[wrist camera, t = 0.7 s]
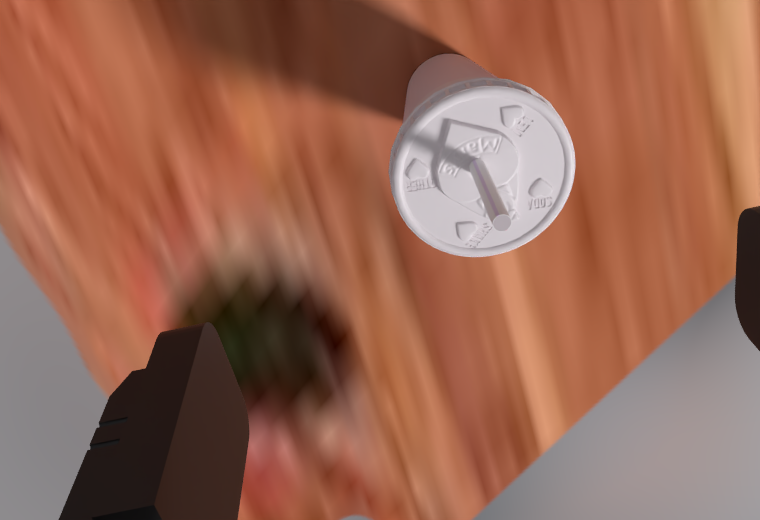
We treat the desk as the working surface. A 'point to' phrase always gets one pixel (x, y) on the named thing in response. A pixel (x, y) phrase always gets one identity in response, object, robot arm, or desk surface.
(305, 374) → the desk surface
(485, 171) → the smoothie
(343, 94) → the desk surface
